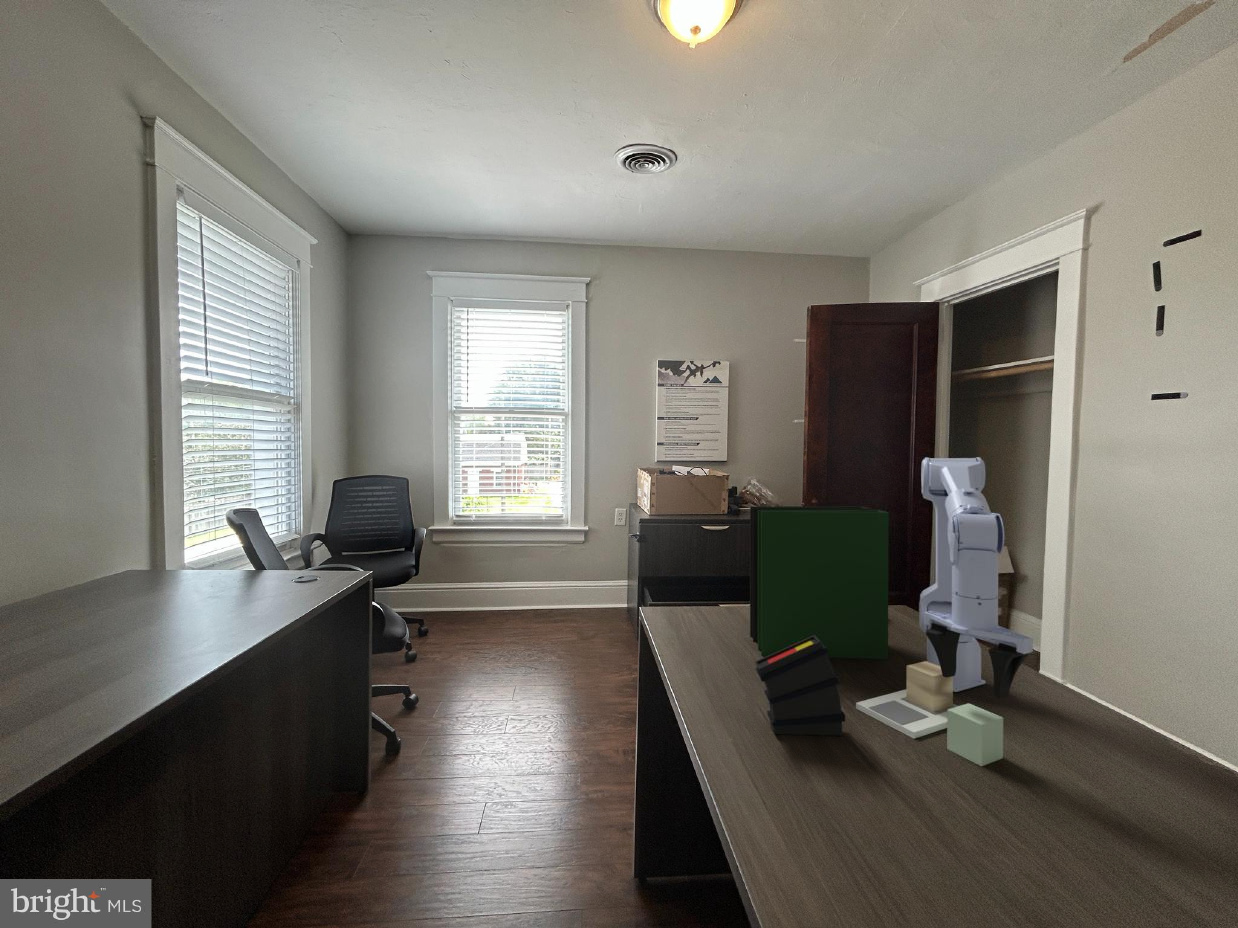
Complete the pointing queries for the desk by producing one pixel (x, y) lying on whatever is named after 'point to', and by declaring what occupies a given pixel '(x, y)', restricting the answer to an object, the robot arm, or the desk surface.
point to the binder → (820, 578)
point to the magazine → (802, 690)
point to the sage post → (975, 734)
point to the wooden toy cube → (929, 686)
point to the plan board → (904, 714)
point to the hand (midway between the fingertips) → (974, 685)
